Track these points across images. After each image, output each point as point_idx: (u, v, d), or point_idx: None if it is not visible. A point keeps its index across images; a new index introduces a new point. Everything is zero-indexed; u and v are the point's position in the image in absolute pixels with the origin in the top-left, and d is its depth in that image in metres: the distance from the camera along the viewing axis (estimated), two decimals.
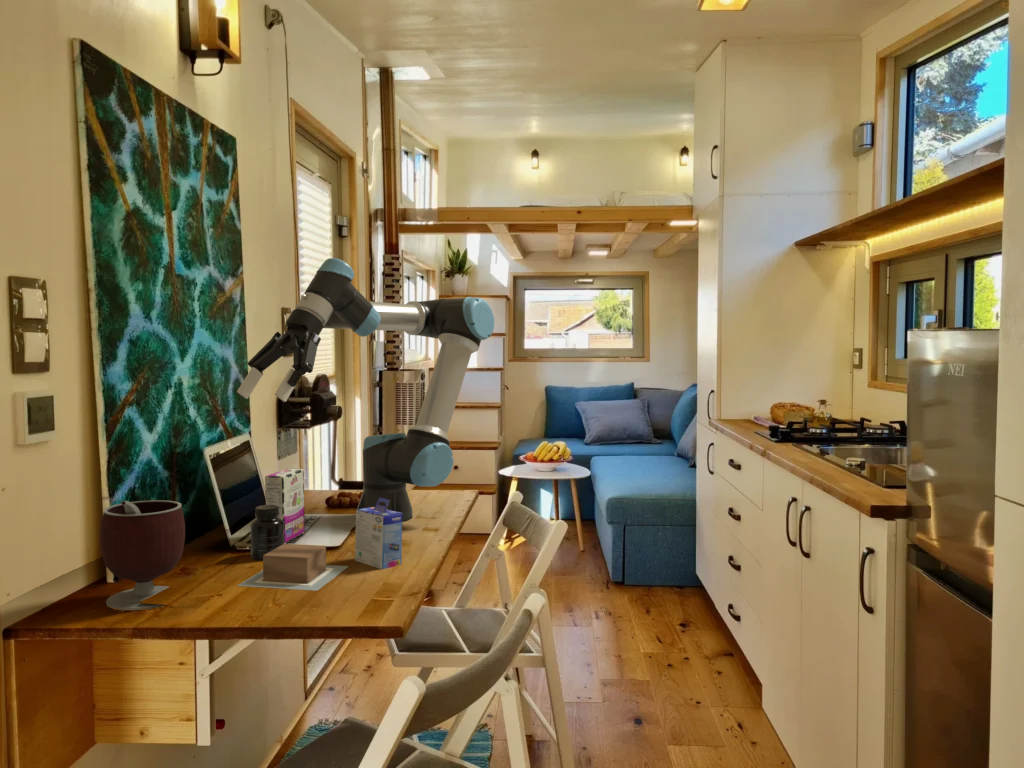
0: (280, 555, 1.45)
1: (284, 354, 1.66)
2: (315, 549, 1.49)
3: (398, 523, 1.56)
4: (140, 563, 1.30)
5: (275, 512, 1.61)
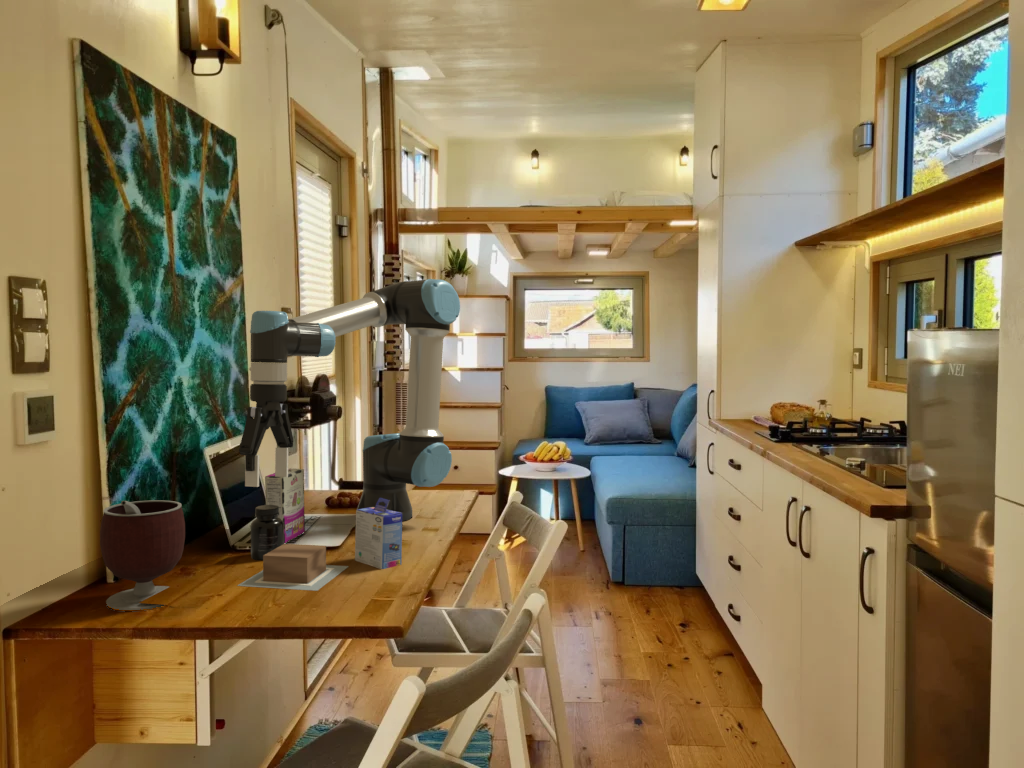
0: (280, 555, 1.45)
1: (279, 425, 1.64)
2: (315, 549, 1.49)
3: (397, 523, 1.56)
4: (140, 563, 1.30)
5: (275, 512, 1.61)
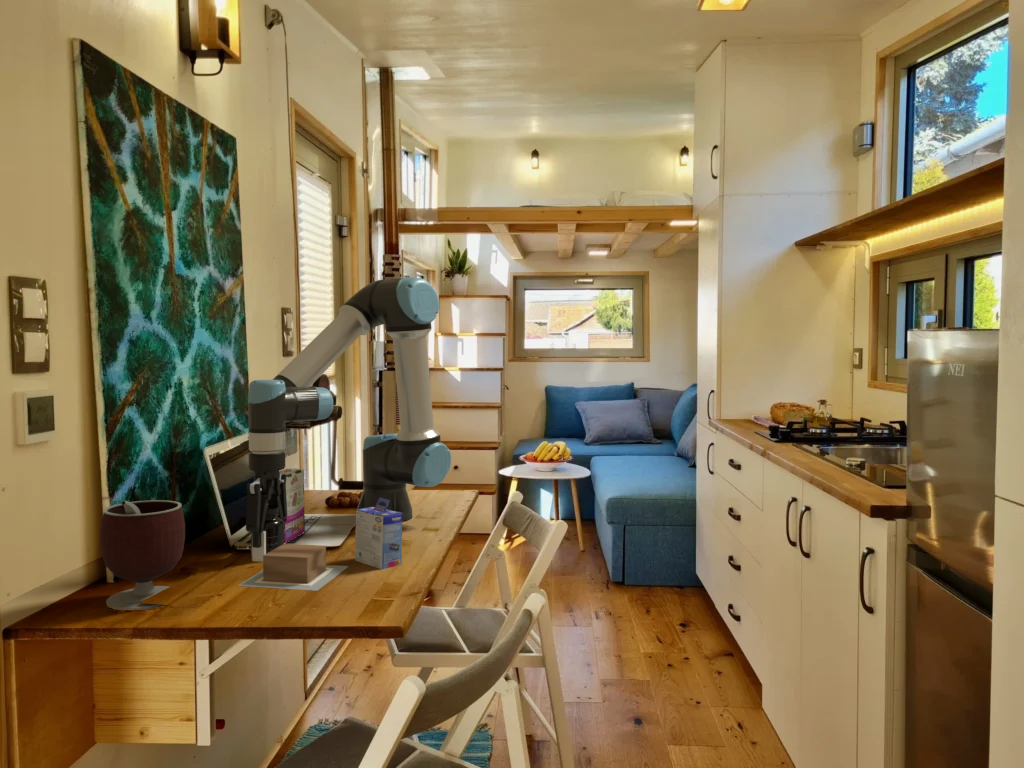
0: (280, 555, 1.45)
1: (276, 494, 1.63)
2: (315, 549, 1.49)
3: (397, 523, 1.56)
4: (140, 563, 1.30)
5: (275, 512, 1.61)
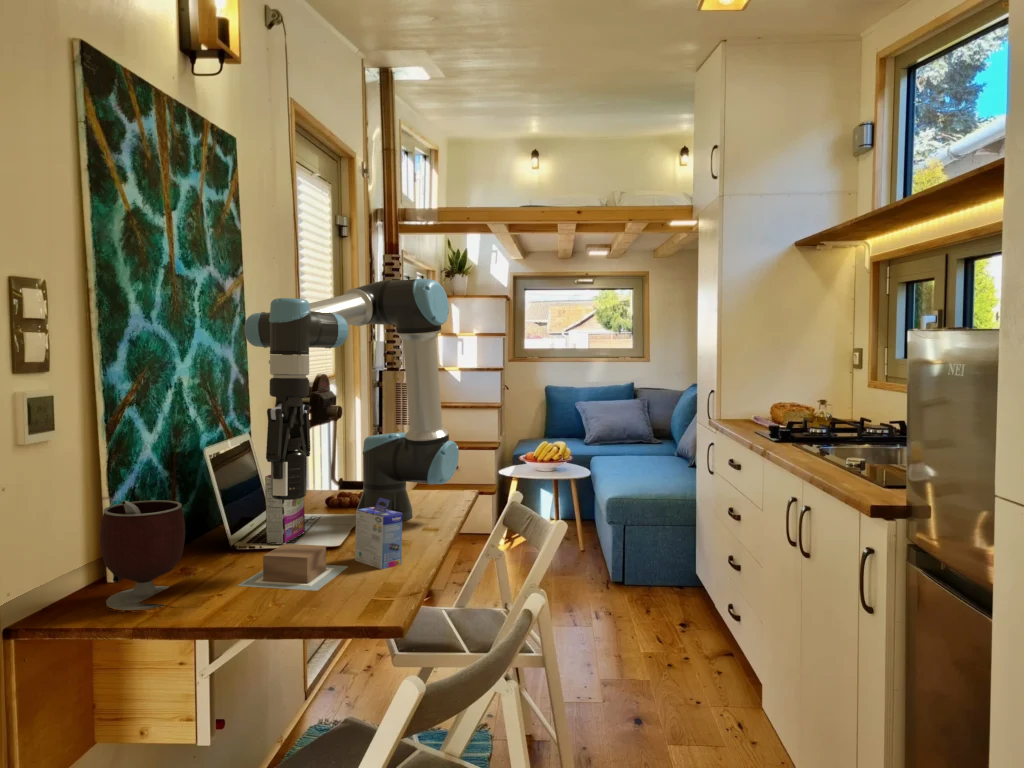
0: (280, 555, 1.45)
1: (299, 424, 1.50)
2: (315, 549, 1.49)
3: (397, 523, 1.56)
4: (140, 563, 1.30)
5: (297, 442, 1.48)
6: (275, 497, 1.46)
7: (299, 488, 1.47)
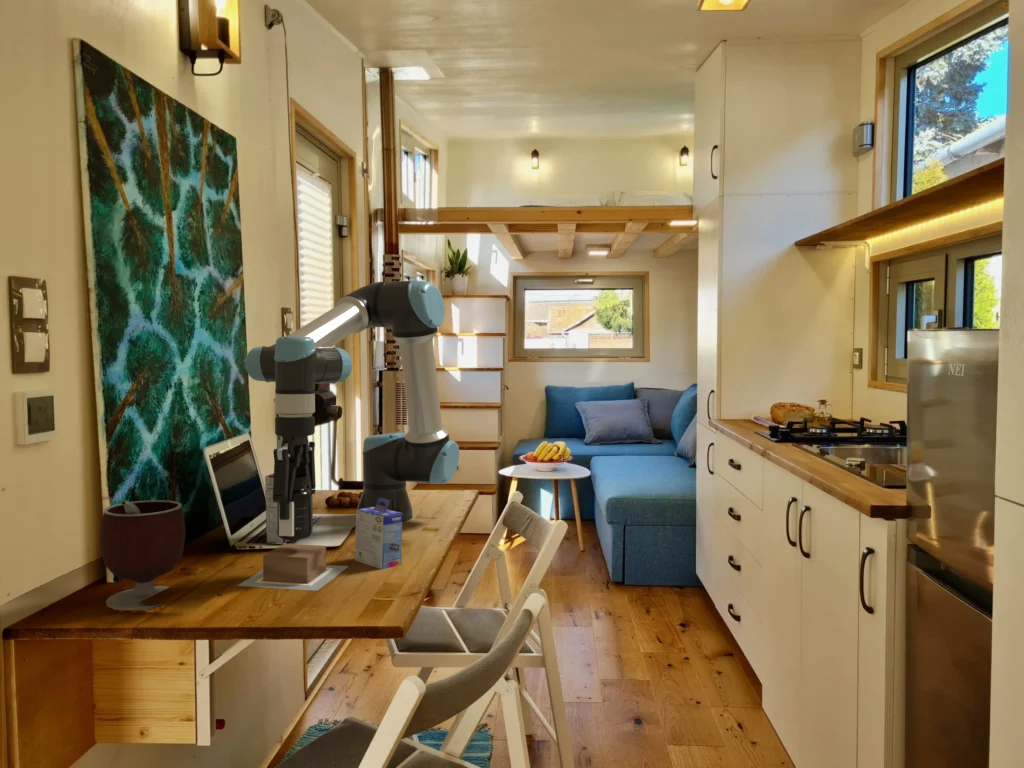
0: (280, 555, 1.45)
1: (305, 463, 1.49)
2: (315, 549, 1.49)
3: (397, 523, 1.56)
4: (140, 563, 1.30)
5: (303, 481, 1.46)
6: (281, 537, 1.45)
7: (306, 528, 1.46)
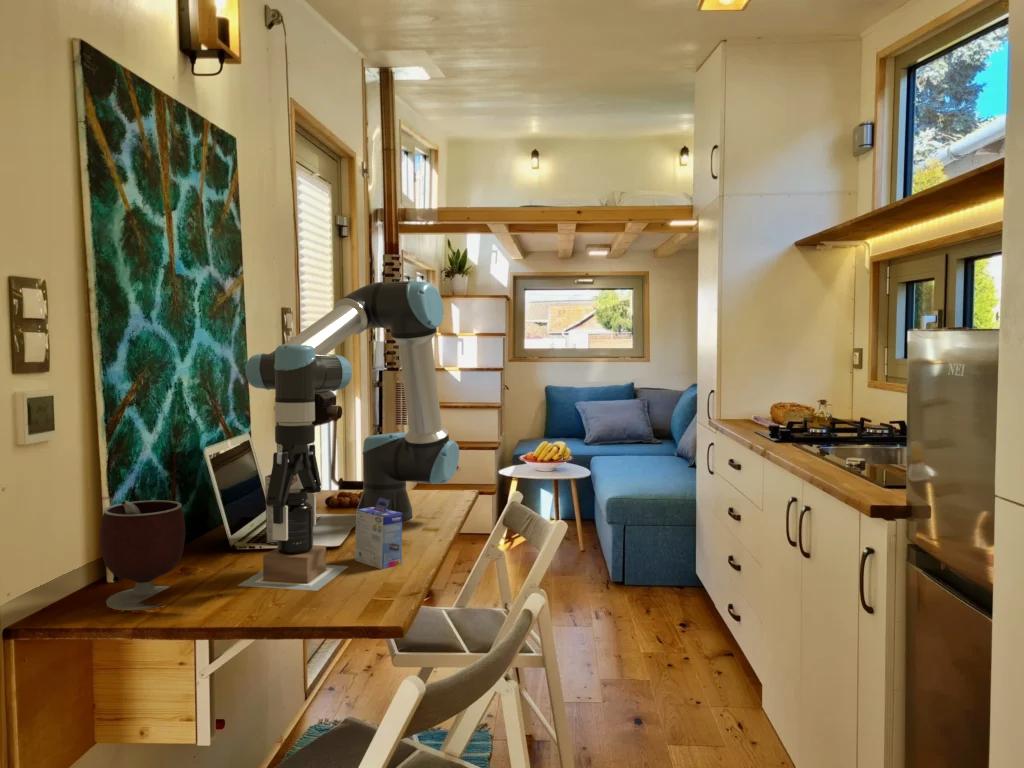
0: (280, 555, 1.45)
1: (307, 468, 1.50)
2: (315, 549, 1.49)
3: (397, 523, 1.56)
4: (140, 563, 1.30)
5: (304, 496, 1.47)
6: (282, 552, 1.45)
7: (306, 542, 1.46)
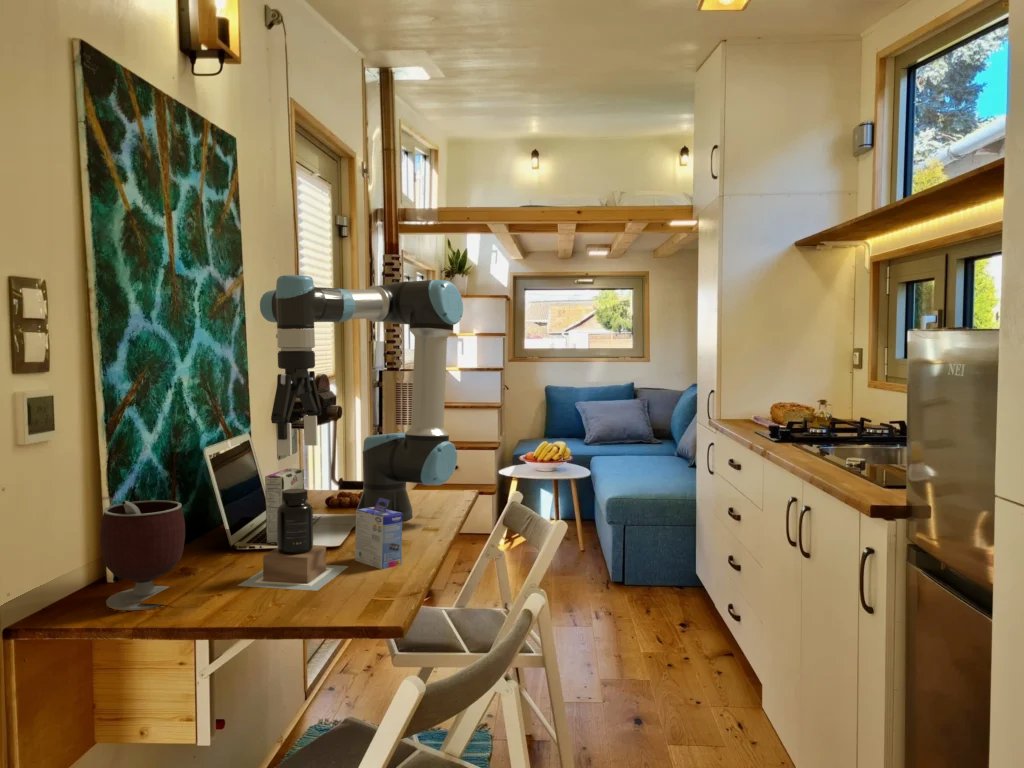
0: (280, 555, 1.45)
1: (308, 392, 1.60)
2: (315, 549, 1.49)
3: (397, 523, 1.56)
4: (140, 563, 1.30)
5: (304, 496, 1.47)
6: (282, 552, 1.45)
7: (306, 542, 1.46)
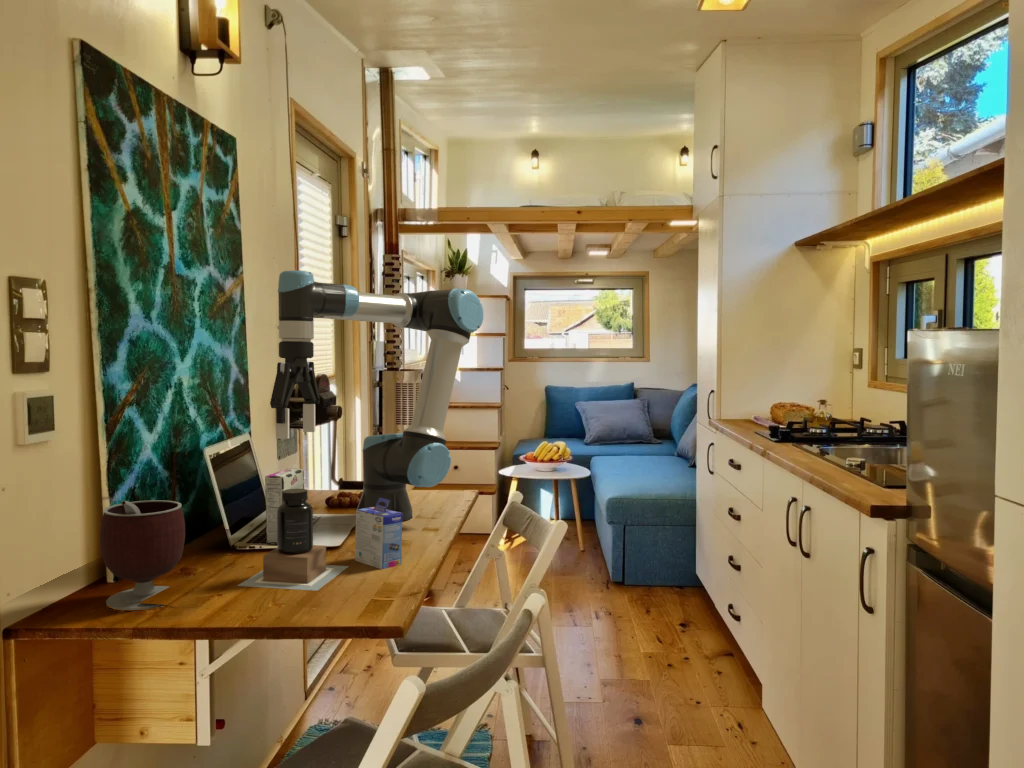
0: (280, 555, 1.45)
1: (307, 381, 1.71)
2: (315, 549, 1.49)
3: (397, 523, 1.56)
4: (140, 563, 1.30)
5: (304, 496, 1.47)
6: (282, 552, 1.45)
7: (306, 542, 1.46)
